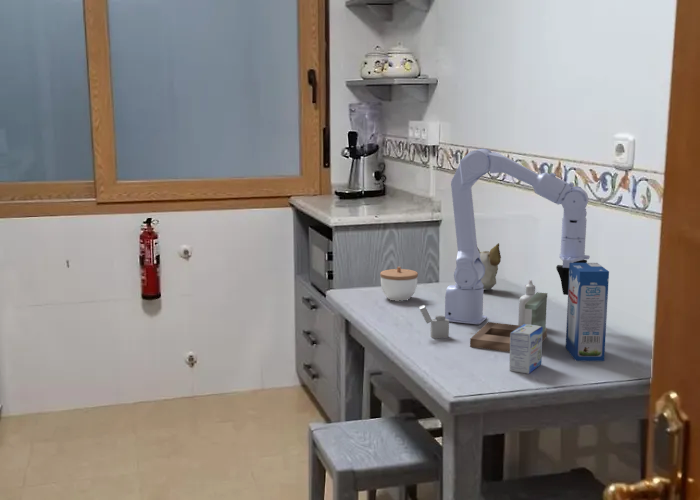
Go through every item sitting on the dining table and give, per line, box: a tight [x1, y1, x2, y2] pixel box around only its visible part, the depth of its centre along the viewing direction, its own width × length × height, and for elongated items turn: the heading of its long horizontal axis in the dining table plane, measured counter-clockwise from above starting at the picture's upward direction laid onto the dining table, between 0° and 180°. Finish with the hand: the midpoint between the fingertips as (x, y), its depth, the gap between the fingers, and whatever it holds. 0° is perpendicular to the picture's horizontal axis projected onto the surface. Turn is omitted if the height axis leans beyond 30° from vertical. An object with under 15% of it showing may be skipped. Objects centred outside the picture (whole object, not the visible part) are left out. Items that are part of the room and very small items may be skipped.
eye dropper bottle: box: [517, 279, 536, 326], centre depth 208 cm, size 4×6×12 cm
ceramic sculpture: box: [477, 243, 502, 290], centre depth 249 cm, size 11×9×15 cm
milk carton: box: [565, 262, 610, 362], centre depth 185 cm, size 10×6×20 cm, turn 178°
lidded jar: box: [379, 266, 419, 302], centre depth 238 cm, size 11×11×9 cm
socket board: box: [469, 291, 548, 353], centre depth 195 cm, size 14×16×11 cm
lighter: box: [418, 304, 450, 339], centre depth 199 cm, size 7×2×8 cm, turn 98°
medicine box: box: [509, 324, 543, 375], centre depth 176 cm, size 8×4×9 cm, turn 148°
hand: (570, 291), depth 205 cm, fingers open, 7 cm apart
